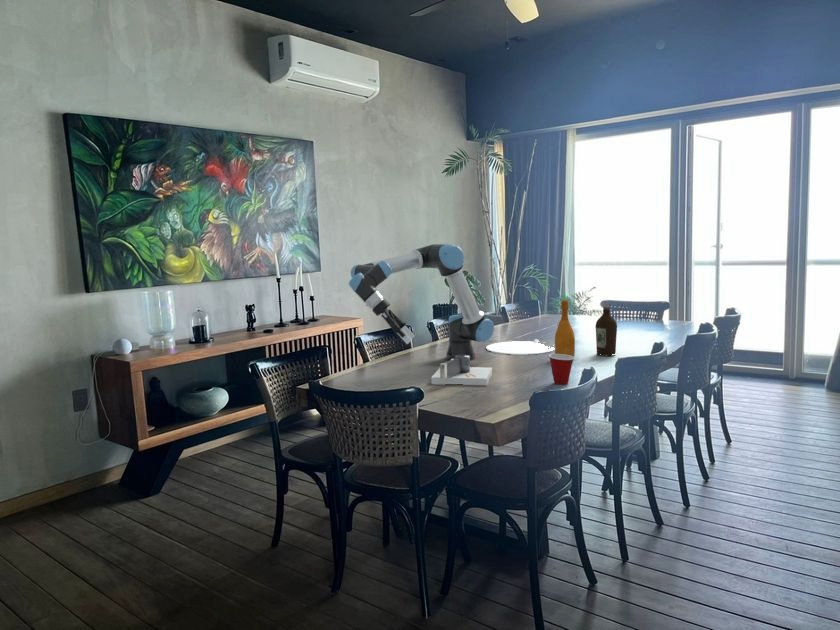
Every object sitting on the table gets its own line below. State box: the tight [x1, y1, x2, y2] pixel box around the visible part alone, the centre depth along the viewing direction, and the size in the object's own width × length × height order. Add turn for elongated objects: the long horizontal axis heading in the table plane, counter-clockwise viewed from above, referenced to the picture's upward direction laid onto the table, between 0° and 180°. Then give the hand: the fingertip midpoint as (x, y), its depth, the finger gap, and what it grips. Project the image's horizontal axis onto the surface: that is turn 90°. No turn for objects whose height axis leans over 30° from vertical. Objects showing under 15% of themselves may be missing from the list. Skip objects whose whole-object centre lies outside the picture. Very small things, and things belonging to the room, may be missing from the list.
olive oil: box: [595, 306, 618, 355], centre depth 316 cm, size 11×11×25 cm
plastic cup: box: [548, 353, 576, 386], centre depth 259 cm, size 11×11×12 cm
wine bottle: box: [554, 300, 576, 357], centre depth 307 cm, size 10×10×30 cm
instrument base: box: [430, 359, 493, 386], centre depth 273 cm, size 22×24×7 cm
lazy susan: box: [485, 338, 555, 356], centre depth 343 cm, size 40×39×3 cm
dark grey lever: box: [439, 354, 471, 379], centre depth 267 cm, size 21×6×7 cm, turn 148°
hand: (411, 340), depth 263 cm, fingers open, 13 cm apart
